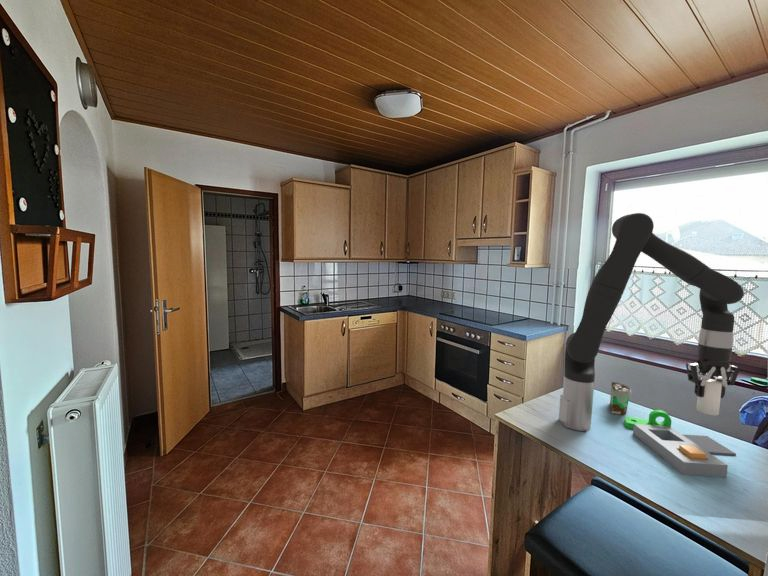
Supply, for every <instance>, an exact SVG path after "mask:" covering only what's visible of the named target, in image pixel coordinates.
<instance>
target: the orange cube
mask: <svg viewBox="0 0 768 576" xmlns="http://www.w3.org/2000/svg"><path fill="white" fill-rule="evenodd" d="M679 451H680V452H682V453H683V454H684V455H686V456H687V457H688V458H690V459H703V460H706V454H705V453H704V452H702V451H701V450H699V449H698V448H696V447H695V446H687V445H679Z"/></svg>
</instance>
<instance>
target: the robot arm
mask: <svg viewBox="0 0 768 576" xmlns="http://www.w3.org/2000/svg"><path fill="white" fill-rule="evenodd" d="M653 231H654V220H653V219H652V218H651V216H649V215H648V214H646V213H644V212H643V213H642V212H636V213H631V214H629V213H628V214H626V215H623V216H621V217H619V218H617V219H616V220H615V221H614V222H613V223H612V226H611V232H612V236H613V238H615V242H614V245H613V248H612V250H611V253H610V254H609V256H608V257H607V258H606V260H605V262H604V263H603V264H602V266H600V268H599V269H598V270H597V272H596V274H595V276H594V278H593V279H592V282H591V285H590V287H589V289H588V293H587V295H586V299H585V302H584V307H583V313H582V316H581V319H580V322H579V325H578V326H577V328H576V329H575V332H573V333H571V334H570V335H568V337H567V338H566V341H565V348H564V349H565V351H564V364H563V365H564V371H563V386H562V387H563V389H562V394H560V397H559V406H558V407H559V408H558V409H559V410H558V421H559V422H560V423H561V424H562V426H564V427H565V428H567V429H572V430H575V431H579V432H586V431H589V430H591V428H592V427H591V425H592V417H593V404H594V401H593V400H594V393H595V392H594V390H595V379H596V378H595V376H596V372H595V371H596V368H595V361H596V357H597V355H598V353H599V349H600V346H601V343H602V340H603V336H604V333H605V331H606V328H607V326H608V324H609V323H610V321H611V319H612V318H613V317H612V316H613V315H614V313H615V311H616V309H617V307H618V306H619V303H620V301H621V299H622V297H623V294H624V292H625V290H626V288H627V284H628V282H629V280H630V278H631V274H632V273H633V270H634V267H635V265H636V262H637V260H638V258H639V256H640V254H641V253H643V254H644V255H646V256H647V257H649V258H651V259H652V260H653V261H655V262H656V263H658V264H659V265H661V266H662V267H664V269H666V270H667V271H669V272H670V273H672V274H673V275H675V276H676V277H677V278H679V279H680V280H682V281H683V282H684V283H686V284H688V285H690V286H693V287H696V288H697V289H699V294H698V295H699V303H700V310H701V312H702V318H701V323H700V331H699V334H698V342H697V350H696V351H697V352H696V356H697V358H698V359H697V361H696V362H694V363H689V362H687V363H685V366H686V367H685V369H686V374H687V380H688V382H691V383H694V394H695V395H696V396H697V397H698V396H699V397H704V390H705V386H704V385H705V383H706V381H707V380H709V379H711V377H713V379H714V380H717V381H720V382H722V390H721V398H720V399H724V397H725V395H726V388H727V387H728V386H734V385H735V383H736V381H737V377H738V375H739V373H740V369H741V368H740V367H738V366H736V365H733V364H730V362H731V361H732V354H733V345H734V327H735V315H734V314H733V313H732V312H730V311H729V309H728V305H732V304H736V303H738V302H740V301H741V300H742V299H743V297H744V295H745V294H744V293H745V292H744V289H743V287H742V286H741V285H740V283H738V282H737V281H736V280H734V279H732V278H731V277H728V276H727V275H725V274H722V273H721V272H719V271H717V270H714V269H712V268H711V267H709V266H708V265H706V264H705V263H704V262H703V261H701V260H700V259H699V258H697V257H695V256H694V255H693V254H691V253H689V252H687V251H685V250H683V249H681V248H679V247H678V246H675V245H672V244H671V243H669V242H666V241H665V240H664V239H662V238H661V237H658V235H656V234H655V233H654V232H653ZM701 378H702V379H701ZM700 380H701V381H700Z"/></svg>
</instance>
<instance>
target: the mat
mask: <svg viewBox="0 0 768 576" xmlns="http://www.w3.org/2000/svg"><path fill="white" fill-rule="evenodd" d="M682 435H683V436H685V437H686V438H688V439H689V440H691V441H692V442H694V443H695V444H697V445H698V446H700V447H701V448H703V449H704V450H706V451H707V452H709V453H710V454H712V455H721V456H736V455H737V454H736V452H734V451H732V450H730V449H729V448H727V446H725V445H722V444H721V443H719V442H718V441H716V440H714V439H713V438H711V437H710V436H708V435H697V434H696V435H695V434H682Z"/></svg>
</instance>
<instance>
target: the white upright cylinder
mask: <svg viewBox="0 0 768 576" xmlns="http://www.w3.org/2000/svg"><path fill="white" fill-rule="evenodd" d="M701 379H702V378H701ZM700 381H701V380H700ZM704 386H705V390H704V397H699V396H697V401H696V410H697V411H698V412H701V413H702V414H706V415H708V416H718V415H719V414H720V406H721V399H722V398H721V390H722V382H720V381H717V380H715V379H714V378H710V379H709V380H707V381H706V383H705V385H704Z"/></svg>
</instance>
